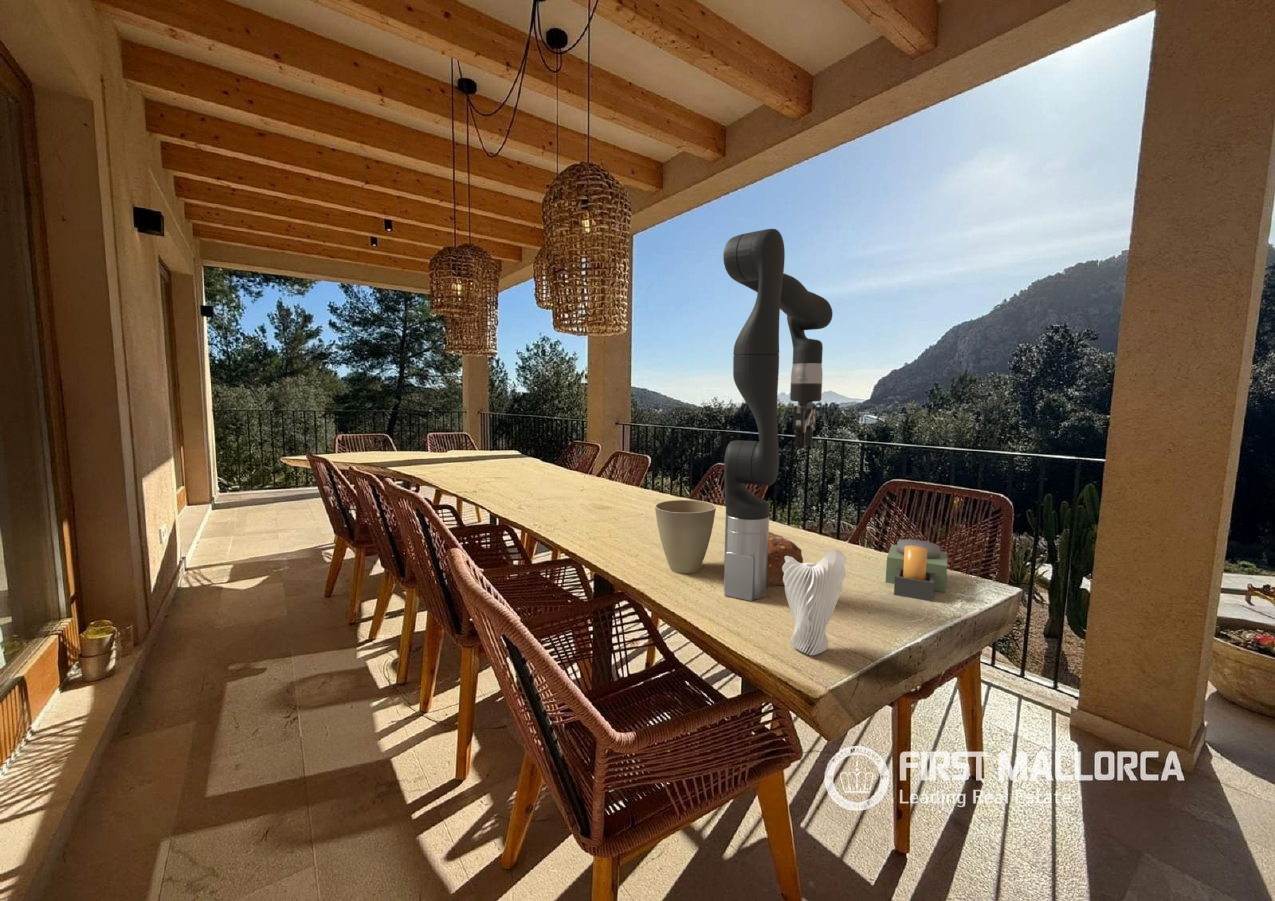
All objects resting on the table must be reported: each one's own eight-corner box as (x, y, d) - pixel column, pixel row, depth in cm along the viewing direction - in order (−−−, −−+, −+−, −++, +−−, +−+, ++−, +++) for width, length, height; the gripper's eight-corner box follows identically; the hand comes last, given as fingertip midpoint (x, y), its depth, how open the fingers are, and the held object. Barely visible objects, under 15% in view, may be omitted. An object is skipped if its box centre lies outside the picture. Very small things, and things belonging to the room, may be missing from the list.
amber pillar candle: (924, 597, 112) (927, 552, 111) (901, 593, 115) (904, 549, 113) (924, 590, 116) (927, 547, 115) (902, 587, 118) (905, 544, 117)
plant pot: (680, 555, 140) (681, 497, 138) (726, 568, 130) (728, 505, 128) (641, 568, 130) (642, 505, 128) (688, 584, 119) (690, 515, 118)
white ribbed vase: (773, 646, 90) (776, 544, 88) (805, 635, 94) (810, 538, 92) (812, 668, 83) (817, 558, 81) (845, 655, 87) (851, 550, 85)
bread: (803, 585, 120) (804, 542, 119) (760, 588, 117) (761, 545, 116) (764, 559, 138) (766, 522, 137) (727, 562, 135) (728, 524, 134)
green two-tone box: (945, 603, 109) (948, 566, 108) (882, 592, 115) (884, 557, 114) (945, 576, 126) (947, 543, 125) (890, 567, 132) (892, 536, 131)
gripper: (815, 381, 123) (812, 449, 125) (827, 382, 135) (824, 445, 137) (783, 381, 127) (781, 448, 129) (797, 383, 139) (795, 443, 141)
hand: (803, 446), depth 133 cm, fingers open, 8 cm apart
